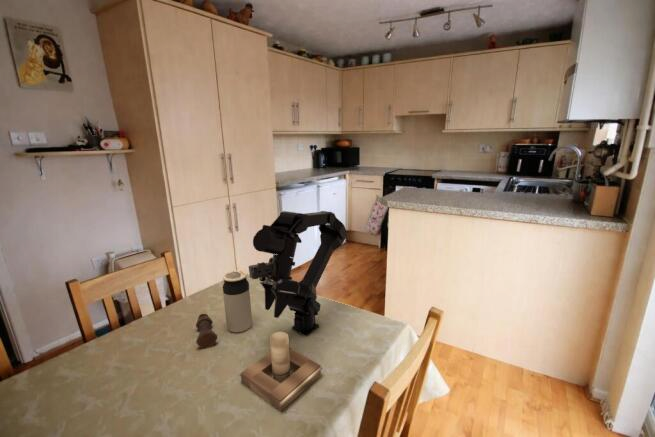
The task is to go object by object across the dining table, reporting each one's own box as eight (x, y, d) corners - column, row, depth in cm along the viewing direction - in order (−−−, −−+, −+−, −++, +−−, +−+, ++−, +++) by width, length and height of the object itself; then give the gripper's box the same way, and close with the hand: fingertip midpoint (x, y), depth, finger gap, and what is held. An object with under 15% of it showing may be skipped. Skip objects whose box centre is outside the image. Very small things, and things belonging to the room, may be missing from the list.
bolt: (206, 326, 105) (211, 351, 91) (191, 323, 102) (194, 348, 89) (214, 310, 105) (219, 333, 91) (199, 307, 102) (202, 329, 89)
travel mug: (229, 336, 96) (223, 282, 92) (225, 323, 103) (219, 273, 98) (255, 328, 99) (250, 277, 95) (249, 316, 106) (244, 268, 102)
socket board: (281, 352, 88) (281, 342, 87) (322, 375, 79) (322, 365, 78) (239, 382, 77) (238, 372, 76) (281, 413, 68) (281, 402, 67)
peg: (277, 371, 81) (274, 330, 78) (293, 373, 80) (291, 332, 77) (269, 383, 77) (266, 341, 74) (286, 387, 76) (284, 344, 73)
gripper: (248, 249, 91) (235, 302, 88) (263, 252, 74) (248, 318, 72) (284, 256, 95) (273, 307, 93) (306, 260, 78) (293, 323, 76)
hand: (271, 313), depth 83 cm, fingers open, 9 cm apart
